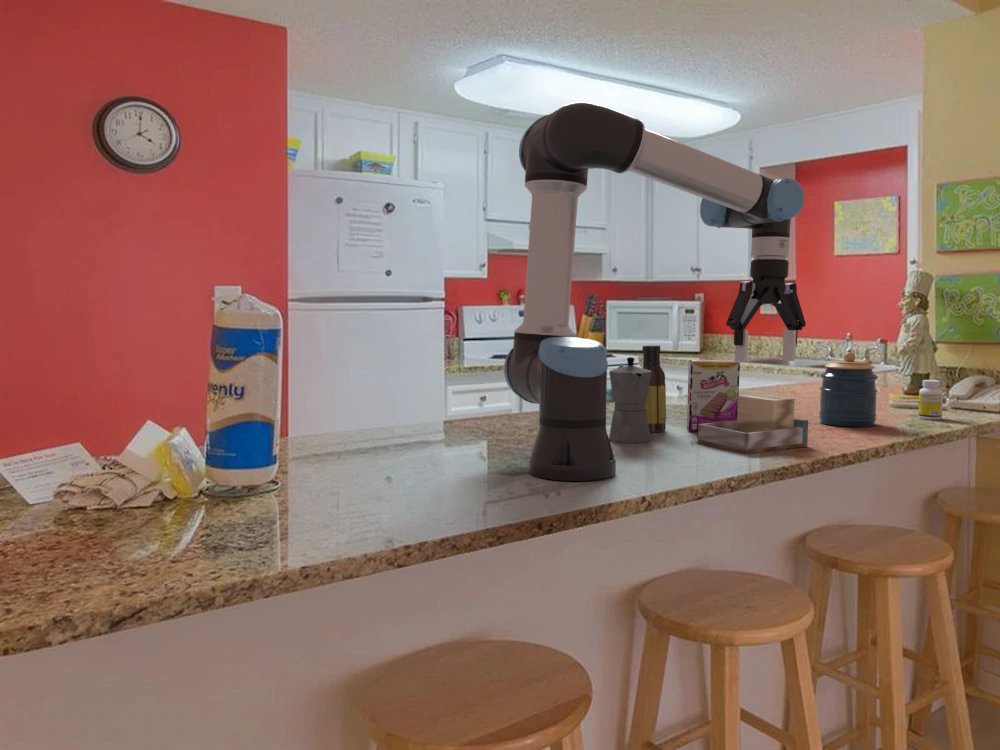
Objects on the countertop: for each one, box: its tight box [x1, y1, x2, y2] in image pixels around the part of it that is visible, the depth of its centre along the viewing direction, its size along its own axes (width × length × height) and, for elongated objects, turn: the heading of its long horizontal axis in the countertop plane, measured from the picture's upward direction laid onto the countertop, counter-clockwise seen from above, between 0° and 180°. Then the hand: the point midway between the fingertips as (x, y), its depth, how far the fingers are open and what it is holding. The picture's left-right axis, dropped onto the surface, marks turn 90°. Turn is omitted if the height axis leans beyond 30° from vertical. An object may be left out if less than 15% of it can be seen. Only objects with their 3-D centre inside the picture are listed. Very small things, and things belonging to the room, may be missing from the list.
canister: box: [818, 351, 879, 428], centre depth 200 cm, size 13×13×18 cm
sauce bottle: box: [642, 344, 667, 433], centre depth 189 cm, size 6×6×20 cm
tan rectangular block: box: [737, 393, 796, 433], centre depth 172 cm, size 6×10×9 cm, turn 28°
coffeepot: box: [608, 356, 652, 444], centre depth 178 cm, size 15×9×18 cm, turn 8°
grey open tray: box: [697, 417, 809, 455], centre depth 171 cm, size 17×14×6 cm
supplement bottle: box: [918, 379, 944, 421], centre depth 209 cm, size 5×5×10 cm
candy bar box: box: [686, 359, 741, 433], centre depth 189 cm, size 11×5×16 cm, turn 84°
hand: (765, 361), depth 171 cm, fingers open, 13 cm apart
